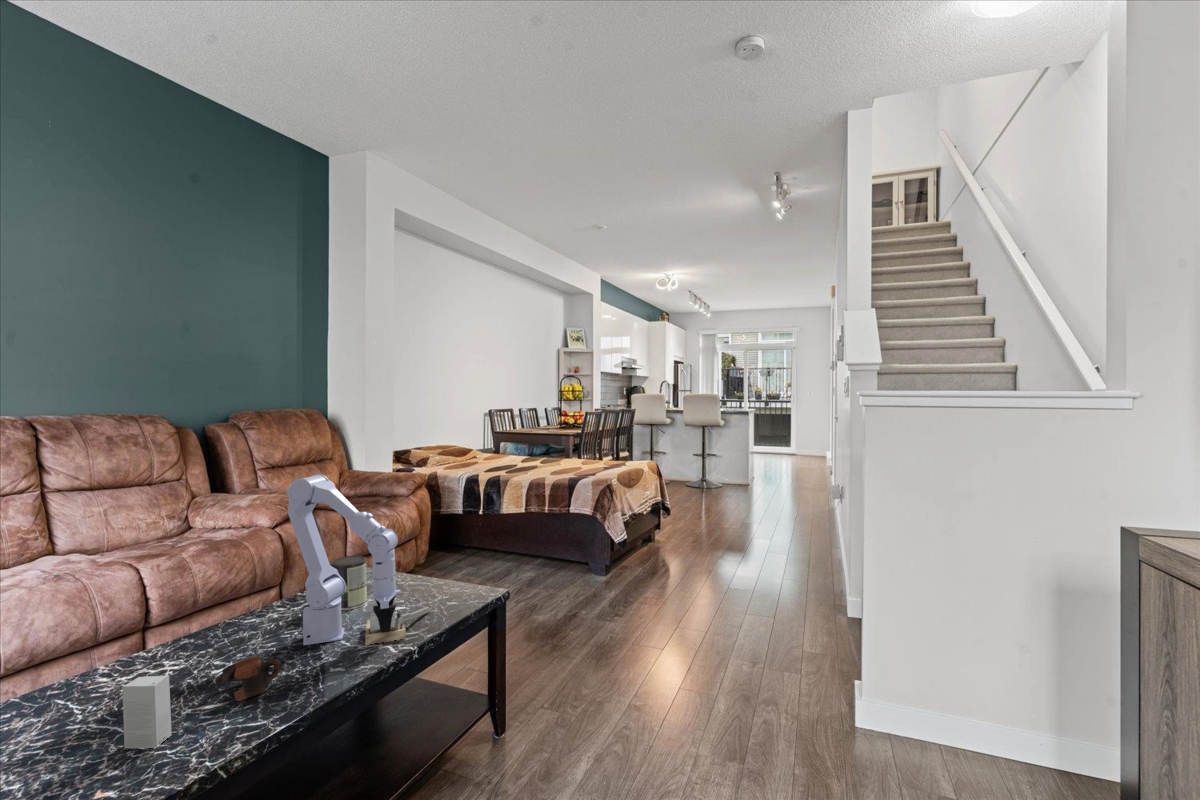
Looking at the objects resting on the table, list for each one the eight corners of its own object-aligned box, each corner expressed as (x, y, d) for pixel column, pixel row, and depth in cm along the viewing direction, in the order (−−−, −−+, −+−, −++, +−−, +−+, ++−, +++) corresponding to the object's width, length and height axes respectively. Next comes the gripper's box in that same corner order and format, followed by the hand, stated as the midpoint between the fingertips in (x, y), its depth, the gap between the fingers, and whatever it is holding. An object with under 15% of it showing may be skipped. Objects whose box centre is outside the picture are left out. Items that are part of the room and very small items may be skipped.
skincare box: (172, 736, 112) (170, 674, 112) (156, 749, 108) (154, 685, 108) (140, 737, 112) (138, 676, 112) (122, 751, 108) (120, 687, 107)
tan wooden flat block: (365, 645, 151) (365, 635, 151) (367, 628, 163) (367, 619, 163) (405, 639, 155) (405, 629, 155) (404, 622, 166) (404, 614, 166)
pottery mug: (220, 710, 122) (211, 671, 125) (232, 709, 130) (224, 673, 133) (282, 682, 127) (272, 646, 130) (290, 683, 135) (281, 649, 138)
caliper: (398, 638, 155) (398, 615, 155) (394, 638, 155) (394, 614, 155) (431, 610, 175) (431, 589, 175) (428, 610, 175) (427, 589, 175)
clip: (370, 642, 153) (369, 619, 153) (370, 638, 156) (370, 616, 156) (396, 638, 156) (395, 615, 156) (396, 634, 158) (395, 612, 158)
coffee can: (329, 612, 176) (328, 566, 176) (334, 601, 186) (333, 557, 186) (366, 608, 179) (364, 562, 179) (368, 597, 189) (367, 554, 189)
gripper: (400, 582, 150) (401, 634, 150) (399, 567, 164) (401, 614, 164) (371, 585, 148) (372, 638, 148) (372, 570, 162) (374, 618, 162)
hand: (385, 626), depth 156 cm, fingers open, 7 cm apart
